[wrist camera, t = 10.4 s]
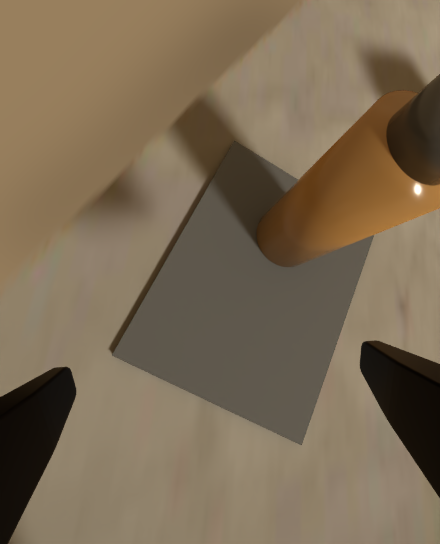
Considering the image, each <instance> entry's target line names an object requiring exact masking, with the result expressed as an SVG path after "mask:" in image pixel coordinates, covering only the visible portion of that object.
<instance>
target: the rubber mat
mask: <svg viewBox="0 0 440 544" xmlns="http://www.w3.org/2000/svg"><path fill="white" fill-rule="evenodd" d="M297 181H298V179H296V178H295V177H293V176H291V175H290V174H288V173H286V172H285V171H283V170H282V169H280V168H278V167H277V166H275V165H273V164H272V163H270V162H269V161H267V160H265V159H264V158H262V157H260V156H259V155H257V154H256V153H254V152H252V151H251V150H249V149H247V148H246V147H244V146H242V145H241V144H239V143H238V142H236V141H234V142H233V144H232V146H231V148H230V149H229V151H228V153H227V155H226V156H225V158H224V160H223V162H222V163H221V165H220V167H219V169H218V170H217V172H216V174H215V176H214V177H213V179H212V181H211V183H210V184H209V186H208V188H207V190H206V191H205V193H204V195H203V197H202V198H201V200H200V202H199V204H198V205H197V207H196V209H195V211H194V212H193V214H192V216H191V218H190V219H189V221H188V223H187V225H186V226H185V228H184V230H183V232H182V233H181V235H180V237H179V239H178V240H177V242H176V244H175V246H174V247H173V249H172V251H171V253H170V254H169V256H168V258H167V260H166V261H165V263H164V265H163V267H162V268H161V270H160V272H159V274H158V275H157V277H156V279H155V281H154V282H153V284H152V286H151V288H150V289H149V291H148V293H147V295H146V296H145V298H144V300H143V302H142V304H141V305H140V307H139V309H138V311H137V312H136V314H135V316H134V318H133V319H132V321H131V323H130V325H129V326H128V328H127V330H126V332H125V333H124V335H123V337H122V339H121V340H120V342H119V344H118V346H117V347H116V349H115V351H114V353H113V354H112V356H114V357H116V358H119V359H121V360H123V361H125V362H127V363H129V364H131V365H133V366H135V367H138V368H140V369H142V370H144V371H146V372H148V373H150V374H152V375H154V376H157V377H159V378H161V379H163V380H165V381H167V382H169V383H171V384H173V385H176V386H178V387H180V388H182V389H184V390H186V391H188V392H190V393H192V394H194V395H197V396H199V397H201V398H203V399H205V400H207V401H209V402H211V403H213V404H216V405H218V406H220V407H222V408H224V409H226V410H228V411H230V412H232V413H235V414H237V415H239V416H241V417H243V418H245V419H247V420H249V421H251V422H254V423H256V424H258V425H260V426H262V427H264V428H266V429H268V430H270V431H272V432H275V433H277V434H279V435H281V436H283V437H285V438H287V439H289V440H291V441H294V442H296V443H298V444H300V445H302V443H303V440H304V437H305V434H306V431H307V428H308V425H309V422H310V420H311V417H312V414H313V411H314V408H315V405H316V402H317V399H318V396H319V393H320V390H321V388H322V385H323V382H324V379H325V376H326V373H327V370H328V367H329V364H330V361H331V359H332V356H333V353H334V350H335V347H336V344H337V341H338V338H339V335H340V332H341V330H342V327H343V324H344V321H345V318H346V315H347V312H348V309H349V306H350V303H351V300H352V298H353V295H354V292H355V289H356V286H357V283H358V280H359V277H360V274H361V271H362V269H363V266H364V263H365V260H366V257H367V254H368V251H369V248H370V245H371V242H372V239H373V237H374V235H372V236H370V237H367V238H365V239H362V240H360V241H357V242H355V243H352V244H350V245H347V246H345V247H343V248H340V249H338V250H335V251H333V252H330V253H328V254H325V255H323V256H320V257H318V258H315V259H313V260H310V261H308V262H306V263H303V264H301V265H298V266H295V267H282V266H279V265H276V264H274V263H273V262H271V261H270V260H269V259H267V258H266V256H265V255H264V254H263V253H262V251H261V249H260V247H259V245H258V242H257V234H256V232H257V226H258V223H259V221H260V219H261V218H262V216H263V215H264V214H265V213H266V212H267V211H268V210H269V209H270V208H271V207H272V206H273V205H274V204H275V203H276V202H277V201H278V200H279V199H280V198H281V197H282V196H283V195H284V194H285V193H286V192H287V191H288V190H289V189H290V188H291V187H292V186H293V185H294V184H295V183H296V182H297Z"/></svg>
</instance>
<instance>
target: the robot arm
mask: <svg viewBox="0 0 440 544" xmlns="http://www.w3.org/2000/svg"><path fill="white" fill-rule="evenodd" d="M360 369H361V372H362V374H363V376H364V378H365V380H366V382H367V383H368V385H369V387H370V389H371V391H372V393H373V395H374V396H375V398H376V400H377V402H378V404H379V406H380V408H381V409H382V411H383V413H384V415H385V416H386V418H387V420H388V421H389V423H390V425H391V426H392V428H393V429H394V431H395V432H396V434H397V435H398V437H399V438H400V440H401V441H402V443H403V444H404V446H405V447H406V449H407V450H408V452H409V453H410V455H411V456H412V458H413V459H414V461H415V462H416V464H417V465H418V466H419V468H420V469H421V471H422V472H423V474H424V475H425V477H426V478H427V480H428V481H429V483H430V484H431V486H432V487H433V489H434V490H435V492H436V493H437V495H438V496H439V498H440V364H438V363H436V362H433V361H430V360H428V359H425V358H422V357H420V356H417V355H414V354H412V353H409V352H406V351H404V350H401V349H399V348H396V347H393V346H391V345H388V344H385V343H383V342H380V341H365V342H363V343H362V346H361V357H360ZM75 397H76V387H75V383H74V379H73V376H72V372H71V370H70V368H68V367H57V368H53V369H51V370H49V371H47V372H45V373H44V374H42V375H40V376H38V377H36V378H35V379H33V380H31V381H29V382H27V383H25V384H24V385H22V386H20V387H18V388H16V389H14V390H13V391H11V392H9V393H7V394H5V395H3V396H2V397H0V544H8V542H9V540H10V538H11V536H12V534H13V532H14V530H15V528H16V526H17V524H18V522H19V520H20V518H21V516H22V514H23V512H24V510H25V508H26V506H27V504H28V502H29V500H30V498H31V496H32V494H33V492H34V490H35V488H36V486H37V484H38V482H39V480H40V478H41V476H42V474H43V472H44V470H45V468H46V466H47V464H48V462H49V460H50V458H51V456H52V454H53V452H54V450H55V448H56V445H57V443H58V441H59V438H60V436H61V433H62V430H63V428H64V425H65V423H66V420H67V418H68V415H69V413H70V410H71V407H72V405H73V402H74V400H75Z"/></svg>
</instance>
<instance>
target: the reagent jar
mask: <svg viewBox="0 0 440 544" xmlns="http://www.w3.org/2000/svg"><path fill="white" fill-rule="evenodd" d="M439 208H440V74H439V75H438V76H437V77H436V78H435V79H434V80H432V81H431V82H430V83H429V84H428V85H427V86H426V87H424V88H423V89H422V90H421V91H420V92H419V93H416V92H412V91H406V90H398V91H393V92H390V93H387V94H385V95H384V96H382V97H381V98H380V99H379V100H377V101H376V102H375V103H374V104H373V105H372V107H371V108H370V109H369V110H368V111H367V112H366V113H365V114H364V115H363V116H362V117H361V118H360V119H359V120H358V121H357V122H356V123H355V124H354V125H353V126H352V127H351V128H350V129H349V130H348V131H347V132H346V133H345V134H344V135H343V136H342V137H341V138H340V139H339V140H338V141H337V142H336V143H335V144H334V145H333V146H332V147H331V148H330V149H329V150H328V151H327V152H326V153H325V154H324V155H323V156H322V157H321V158H320V159H319V160H318V161H317V162H316V163H315V164H314V165H313V166H312V167H311V168H310V169H309V170H308V171H307V172H306V173H305V174H304V175H303V176H302V177H301V178H300V179H299V180H298V181H297V182H296V183H295V184H294V185H293V186H292V187H291V188H290V189H289V190H288V191H287V192H286V193H285V194H284V195H283V196H282V197H281V198H280V199H279V200H278V201H277V202H276V203H275V204H274V205H273V206H272V207H271V208H270V209H269V210H268V211H267V212H266V213H265V214H264V215H263V216H262V218H261V219H260V221H259V223H258V226H257V232H256V234H257V242H258V245H259V247H260V249H261V251H262V253H263V254H264V255H265V256H266V258H267V259H269V260H270V261H271V262H273V263H274V264H276V265H279V266H282V267H295V266H298V265H301V264H303V263H306V262H308V261H310V260H313V259H315V258H318V257H320V256H323V255H325V254H328V253H330V252H333V251H335V250H338V249H340V248H343V247H345V246H347V245H350V244H352V243H355V242H357V241H360V240H362V239H365V238H367V237H370V236H372V235H375V234H377V233H380V232H382V231H384V230H387V229H389V228H392V227H394V226H397V225H399V224H402V223H404V222H407V221H409V220H412V219H414V218H417V217H419V216H421V215H424V214H426V213H429V212H431V211H434V210H436V209H439Z"/></svg>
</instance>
